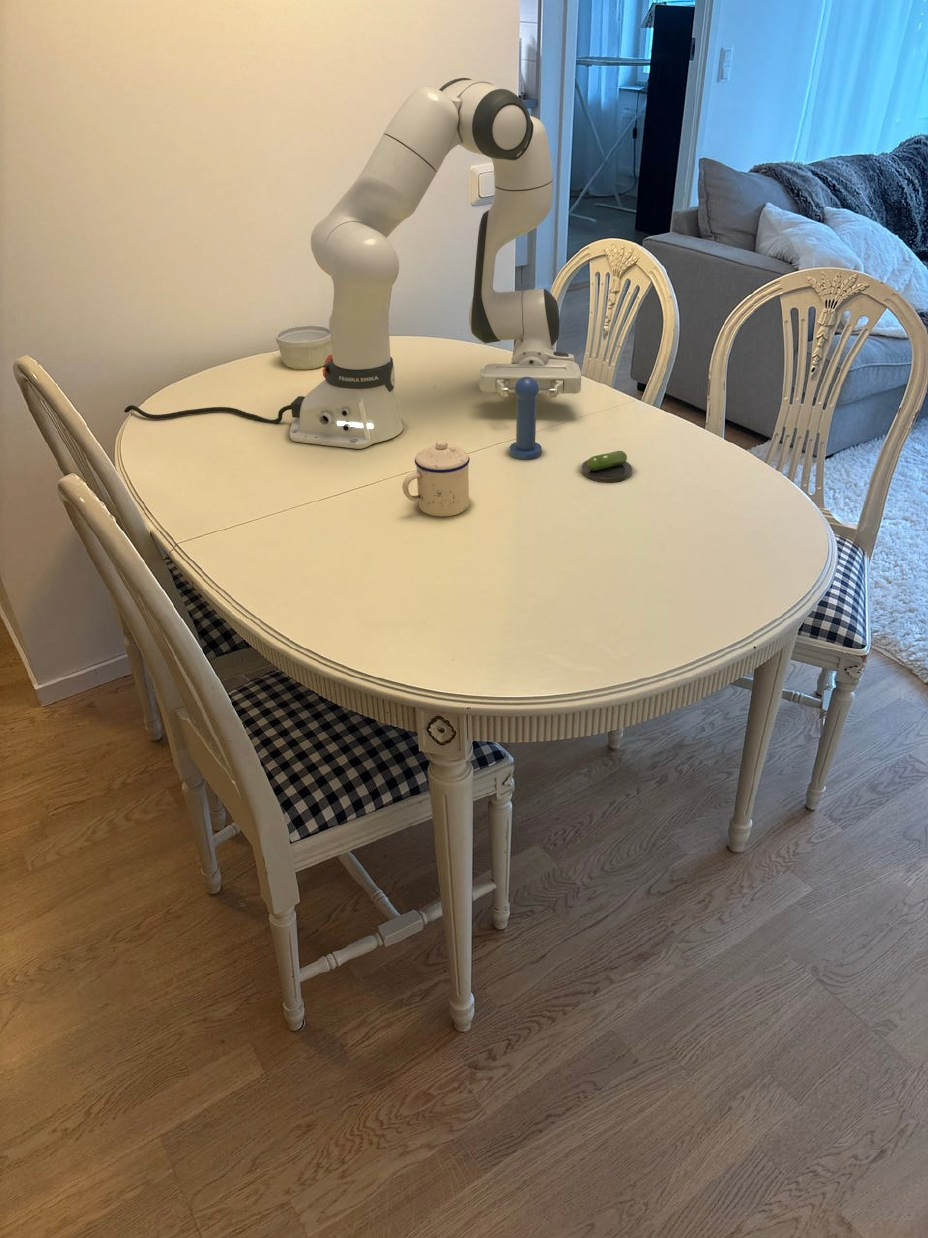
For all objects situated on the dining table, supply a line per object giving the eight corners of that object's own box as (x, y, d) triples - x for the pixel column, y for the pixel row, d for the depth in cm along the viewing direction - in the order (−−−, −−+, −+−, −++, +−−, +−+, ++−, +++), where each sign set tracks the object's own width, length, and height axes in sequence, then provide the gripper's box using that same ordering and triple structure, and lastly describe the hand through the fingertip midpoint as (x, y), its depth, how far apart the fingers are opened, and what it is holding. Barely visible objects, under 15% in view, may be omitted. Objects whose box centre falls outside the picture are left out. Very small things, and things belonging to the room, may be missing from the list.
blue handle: (508, 459, 170) (509, 382, 162) (510, 445, 175) (511, 371, 167) (540, 460, 170) (543, 383, 161) (541, 446, 174) (544, 371, 166)
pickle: (597, 486, 160) (599, 468, 158) (572, 466, 167) (573, 449, 165) (641, 476, 163) (643, 458, 161) (614, 457, 170) (615, 440, 168)
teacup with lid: (453, 488, 160) (451, 426, 154) (480, 509, 154) (479, 444, 147) (392, 506, 156) (388, 442, 149) (418, 527, 149) (414, 462, 142)
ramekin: (271, 370, 212) (267, 340, 208) (289, 352, 223) (286, 323, 219) (326, 372, 210) (323, 342, 206) (342, 354, 221) (339, 325, 217)
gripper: (481, 352, 187) (475, 376, 176) (581, 354, 185) (582, 378, 174) (481, 382, 190) (475, 407, 179) (580, 384, 189) (580, 410, 177)
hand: (528, 393), depth 176 cm, fingers open, 8 cm apart
